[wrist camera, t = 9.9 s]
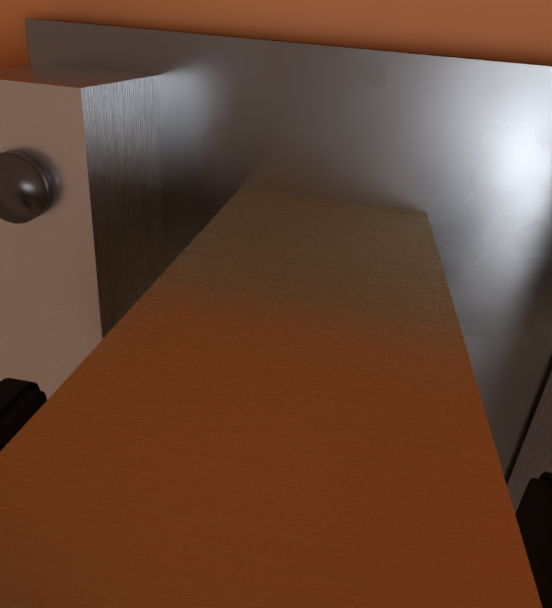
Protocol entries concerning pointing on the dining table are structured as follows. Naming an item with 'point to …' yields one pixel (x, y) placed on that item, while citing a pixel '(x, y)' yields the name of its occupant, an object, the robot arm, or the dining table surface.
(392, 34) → the dining table surface
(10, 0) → the dining table surface
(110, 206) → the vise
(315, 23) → the dining table surface
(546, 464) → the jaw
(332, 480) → the block
